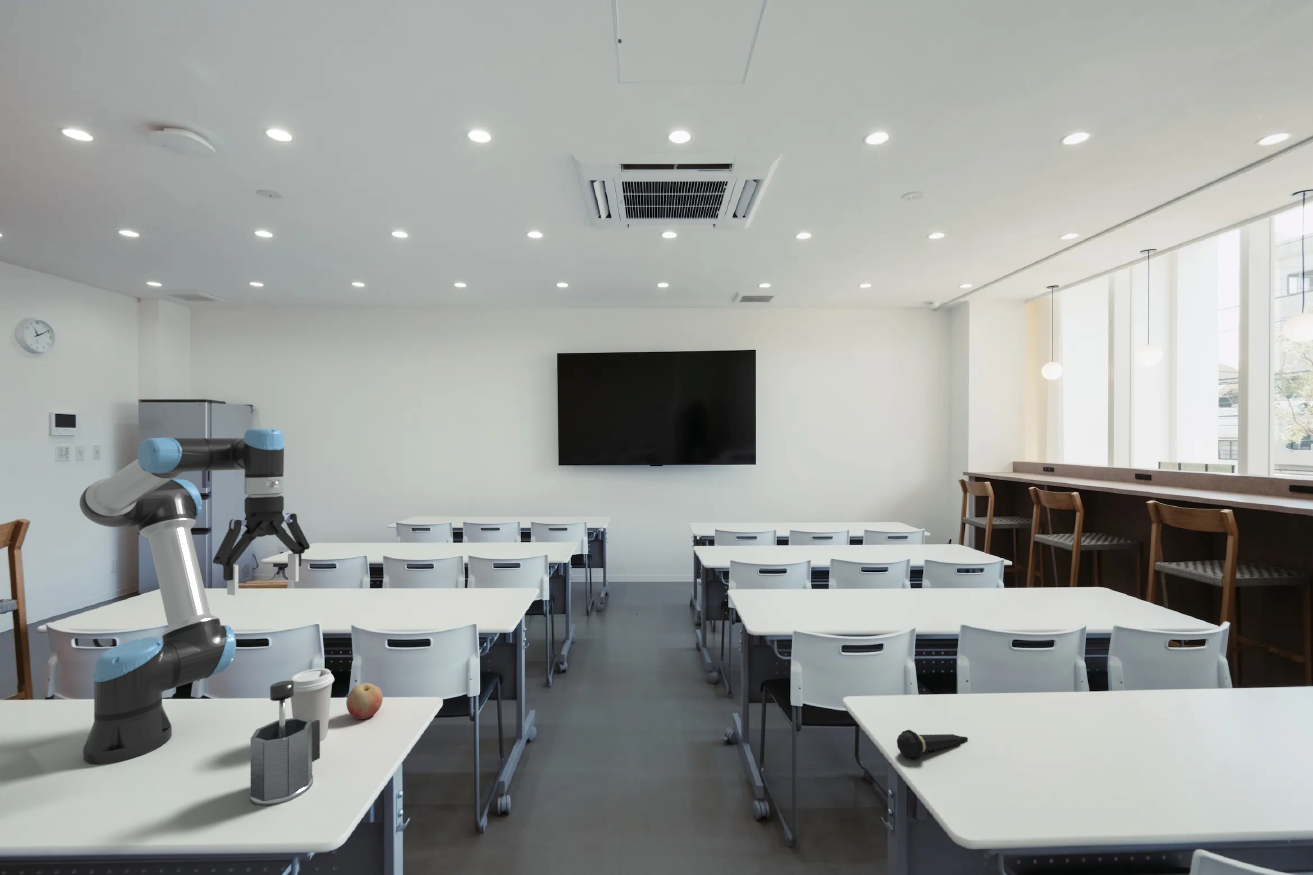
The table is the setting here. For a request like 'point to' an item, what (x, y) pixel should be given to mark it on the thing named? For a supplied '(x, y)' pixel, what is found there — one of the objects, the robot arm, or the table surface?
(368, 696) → the fruit
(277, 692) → the plunger
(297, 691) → the coffee cup
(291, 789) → the press carafe
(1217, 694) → the table surface
